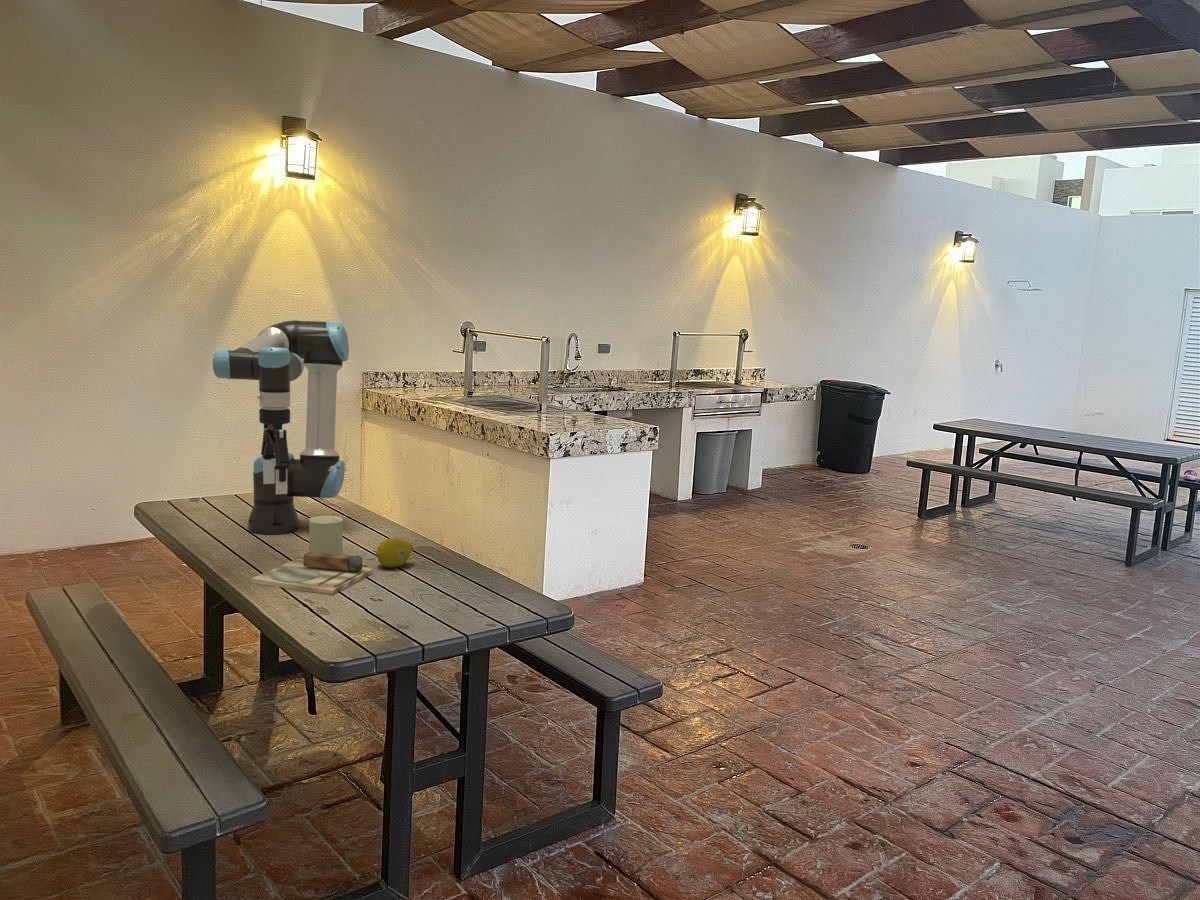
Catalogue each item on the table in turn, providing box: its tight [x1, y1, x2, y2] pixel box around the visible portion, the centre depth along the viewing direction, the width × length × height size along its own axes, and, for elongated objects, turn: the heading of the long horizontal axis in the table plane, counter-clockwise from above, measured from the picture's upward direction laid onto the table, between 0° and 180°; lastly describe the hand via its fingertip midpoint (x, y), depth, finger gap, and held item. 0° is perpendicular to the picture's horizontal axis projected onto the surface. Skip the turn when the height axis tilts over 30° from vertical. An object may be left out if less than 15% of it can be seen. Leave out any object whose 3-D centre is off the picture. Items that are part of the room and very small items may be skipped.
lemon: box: [374, 537, 414, 569], centre depth 252 cm, size 11×8×8 cm
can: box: [308, 515, 344, 555], centre depth 255 cm, size 9×9×12 cm
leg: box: [303, 551, 363, 571], centre depth 243 cm, size 15×4×3 cm, turn 85°
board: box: [251, 558, 374, 596], centre depth 239 cm, size 20×23×2 cm
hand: (275, 488), depth 240 cm, fingers open, 13 cm apart
